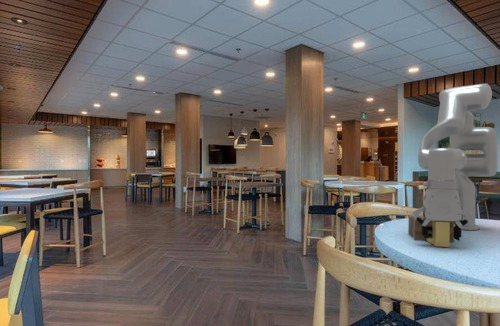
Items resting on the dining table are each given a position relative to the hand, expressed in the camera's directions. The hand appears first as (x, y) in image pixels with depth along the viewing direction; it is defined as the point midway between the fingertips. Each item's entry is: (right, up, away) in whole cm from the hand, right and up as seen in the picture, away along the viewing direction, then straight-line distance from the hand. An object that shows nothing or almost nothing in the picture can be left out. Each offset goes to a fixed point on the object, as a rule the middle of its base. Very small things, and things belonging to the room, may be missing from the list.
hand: (440, 238), depth 100 cm
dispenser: (+3, -3, +12) cm, 12 cm away
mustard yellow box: (+2, -2, +7) cm, 7 cm away
